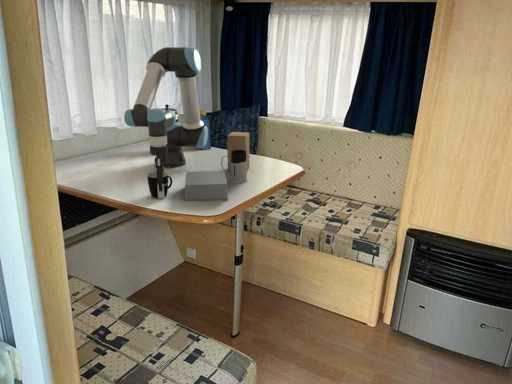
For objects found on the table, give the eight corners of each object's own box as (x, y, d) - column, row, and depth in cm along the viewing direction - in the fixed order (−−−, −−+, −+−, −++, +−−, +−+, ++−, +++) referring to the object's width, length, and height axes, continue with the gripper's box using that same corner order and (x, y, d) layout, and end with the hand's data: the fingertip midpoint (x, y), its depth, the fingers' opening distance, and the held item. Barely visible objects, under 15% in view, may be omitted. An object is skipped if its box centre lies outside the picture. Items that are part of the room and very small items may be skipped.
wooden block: (245, 173, 222) (245, 136, 216) (227, 171, 224) (227, 135, 217) (249, 168, 231) (249, 132, 225) (232, 166, 233) (231, 131, 227)
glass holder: (250, 181, 208) (251, 152, 203) (225, 185, 201) (225, 155, 196) (242, 176, 215) (242, 148, 210) (217, 181, 208) (217, 152, 203)
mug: (156, 200, 181) (155, 178, 178) (144, 196, 186) (143, 174, 183) (178, 194, 189) (177, 172, 186) (166, 189, 195) (165, 169, 192)
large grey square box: (186, 187, 199) (185, 171, 197) (225, 186, 202) (224, 170, 199) (185, 202, 180) (184, 185, 178) (227, 201, 183) (227, 183, 180)
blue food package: (202, 150, 270) (201, 111, 261) (194, 146, 279) (192, 109, 271) (211, 149, 273) (210, 110, 265) (202, 145, 282) (200, 108, 274)
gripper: (151, 140, 189) (154, 187, 196) (147, 151, 169) (151, 202, 176) (167, 139, 190) (170, 186, 198) (166, 150, 170) (169, 201, 178)
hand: (161, 194), depth 187 cm, fingers closed on mug, 9 cm apart
